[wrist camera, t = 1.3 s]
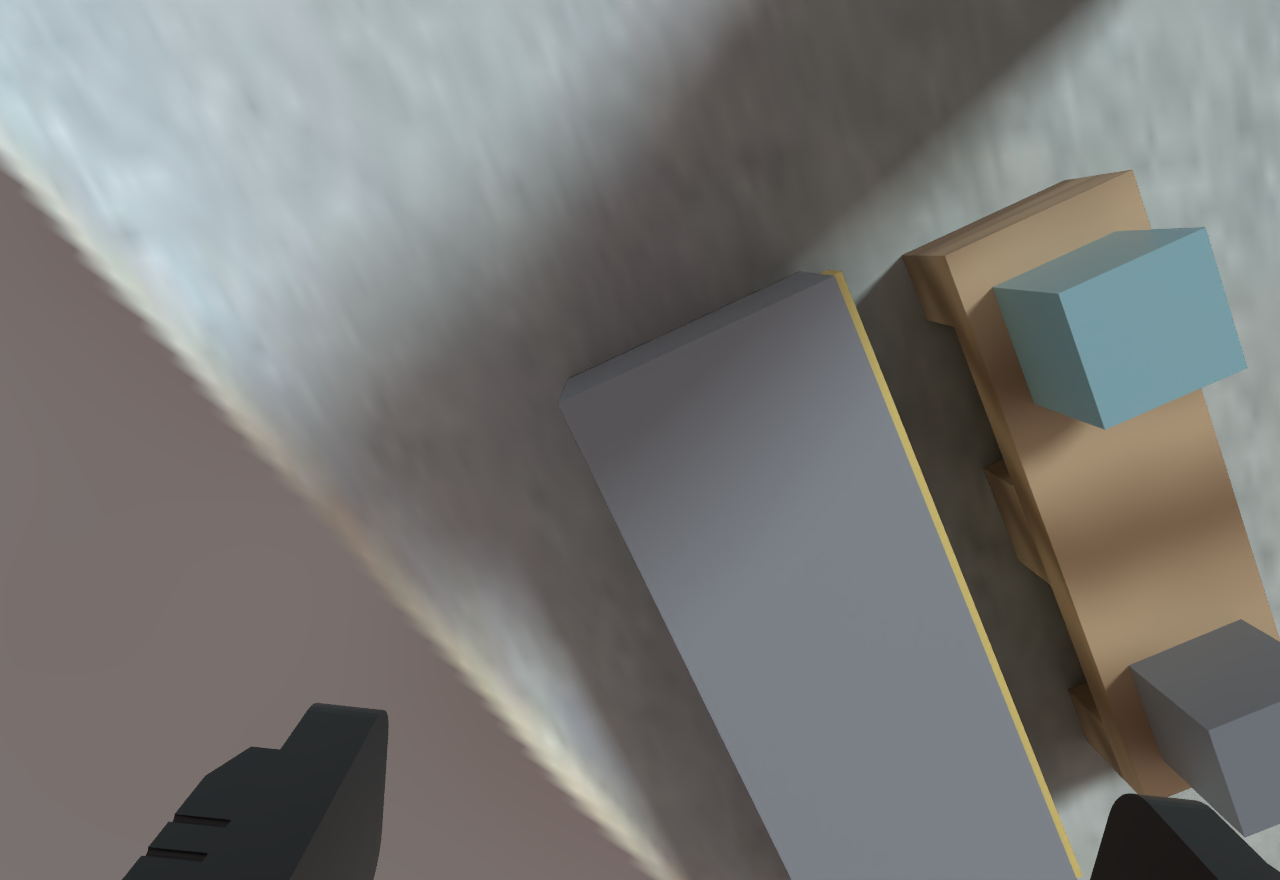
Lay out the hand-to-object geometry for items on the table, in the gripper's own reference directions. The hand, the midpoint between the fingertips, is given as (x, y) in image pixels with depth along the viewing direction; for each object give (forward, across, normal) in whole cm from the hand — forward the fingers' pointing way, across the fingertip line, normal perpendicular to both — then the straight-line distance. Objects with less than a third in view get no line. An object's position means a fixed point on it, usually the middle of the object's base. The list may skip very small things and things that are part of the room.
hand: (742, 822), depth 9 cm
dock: (+22, -6, +6) cm, 24 cm away
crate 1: (+18, -12, -5) cm, 22 cm away
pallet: (+22, -16, +1) cm, 27 cm away
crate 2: (+18, -19, +6) cm, 27 cm away
